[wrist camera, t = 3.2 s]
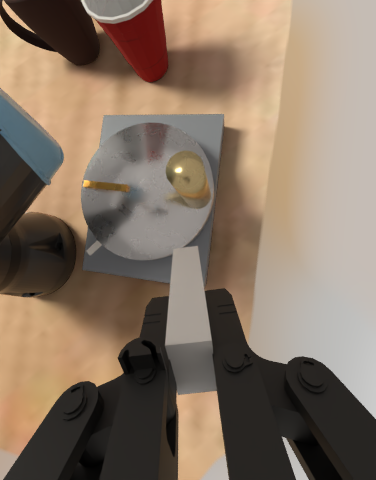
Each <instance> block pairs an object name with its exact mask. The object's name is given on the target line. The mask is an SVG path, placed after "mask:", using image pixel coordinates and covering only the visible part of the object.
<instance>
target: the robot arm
mask: <svg viewBox="0 0 376 480" xmlns="http://www.w3.org/2000/svg"><path fill="white" fill-rule="evenodd" d="M63 160H64V154H63V151H62V148H61V147H60V145H59V144H58V143H57V141H56V140H55V139H54V138H53V137H52V136H51V135H50V134H49V133H48V132H47V131H46V130H45V129H44V128H43V127H42V126H41V125H40V124H39V123H38V122H37V121H36V120H34V119H33V118H32V117H31V116H30V115H29V114H28V113H27V112H26V111H25V110H24V109H23V108H22V107H21V106H19V105H18V104H17V103H16V102H15V101H14V100H13V99H12V98H11V97H10V96H9V95H8V94H6V93H5V92H4V91H3V90H2V89H1V88H0V294H3V295H11V296H19V297H37V296H41V295H46V294H49V293H52V292H54V291H56V290H57V289H59V288H60V287H61V286H62V285H63V284H64V283H65V282H66V281H67V279H68V278H69V276H70V274H71V272H72V270H73V267H74V263H75V257H76V248H75V242H74V238H73V236H72V233H71V231H70V230H69V228H68V227H67V226H66V224H65V223H64V222H63V221H61V220H60V219H58V218H57V217H55V216H52V215H48V214H43V213H38V212H29V213H25V212H26V210H27V209H28V208H29V207H30V205H31V204H32V203H33V202H34V200H35V199H36V198H37V196H38V195H39V194H40V193H41V191H42V190H43V189H44V188H45V186H46V185H50V184H51V179H52V177H53V176H54V175H55V173H56V172H57V170H58V169H59V167H60V166H61V165H62V163H63ZM118 360H119V362H120V364H121V367H122V369H123V371H124V373H123V374H122V375H121V376H119V377H117V378H116V379H114V380H111V381H109V382H107V383H105V384H102V385H100V386H98V387H96V385H95V384H94V383H92V382H90V381H85V382H80V383H77V384H75V385H73V386H71V387H70V388H69V389H67V390H66V391H65V392H64V393H63V394H62V395H61V396H60V397H59V399H58V400H57V401H56V402H55V404H54V405H53V407H52V408H51V410H50V411H49V413H48V414H47V416H46V417H45V419H44V420H43V422H42V423H41V425H40V426H39V428H38V429H37V430H36V432H35V433H34V435H33V436H32V438H31V439H30V441H29V442H28V444H27V445H26V447H25V448H24V450H23V451H22V453H21V454H20V456H19V457H18V459H17V460H16V461H15V463H14V464H13V466H12V467H11V469H10V471H9V472H8V473H7V475H6V476H5V478H4V479H3V480H178V408H177V404H176V392H178V395H181V394H190V393H200V392H209V391H217V395H218V402H219V410H220V418H221V424H222V432H223V439H224V446H225V454H226V461H227V468H228V475H229V480H296V478H295V475H294V472H293V469H292V467H291V463H290V460H289V457H288V454H287V451H286V448H285V445H284V442H283V439H282V437H285V438H287V440H288V442H289V444H290V446H291V448H292V450H293V451H294V453H295V455H296V457H297V459H298V461H299V462H300V464H301V466H302V468H303V470H304V471H305V473H306V475H307V477H308V479H309V480H376V419H375V418H374V417H373V416H372V415H371V414H370V413H369V411H368V410H367V409H366V408H365V407H364V406H363V405H362V404H361V403H360V402H359V401H358V400H357V398H355V396H354V395H353V394H352V393H351V392H350V391H349V390H348V389H347V388H346V386H344V384H343V383H342V382H341V381H340V380H339V379H338V378H337V377H336V376H335V375H334V373H333V372H332V371H331V370H329V369H328V368H327V367H326V366H325V365H324V364H323V363H321V362H319V361H317V360H315V359H313V358H308V357H295V358H293V359H292V360H290V361H289V362H288V364H282V363H278V362H273V361H269V360H266V359H263V358H261V357H259V356H258V355H256V354H255V353H254V352H253V351H252V350H251V349H250V348H249V346H248V344H247V342H246V339H245V336H244V332H243V329H242V326H241V323H240V320H239V317H238V314H237V311H236V308H235V305H234V301H233V298H232V295H231V294H230V293H229V292H228V291H227V290H226V289H225V288H224V289H216V290H208V291H204V285H203V278H202V271H201V264H200V258H199V251H198V246H192V247H185V248H177V249H173V257H172V269H171V281H170V293H169V296H165V297H157V298H152V299H151V301H150V302H149V304H148V305H147V307H146V311H145V317H144V320H143V325H142V330H141V334H140V338H137V339H134V340H133V341H131V342H129V343H128V344H127V345H126V346H125V347H124V348H123V349H122V350H121V352H120V354H119V356H118Z"/></svg>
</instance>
